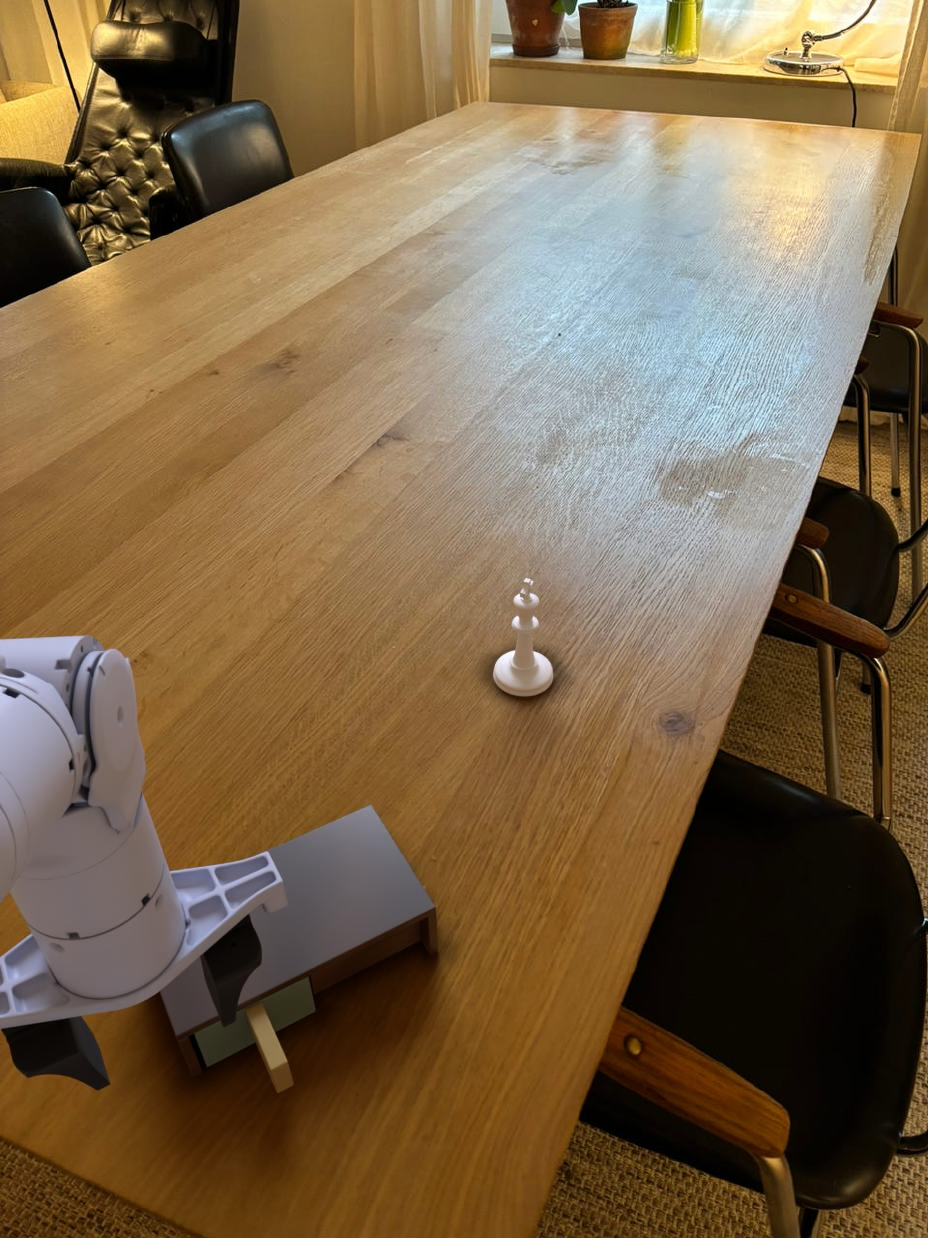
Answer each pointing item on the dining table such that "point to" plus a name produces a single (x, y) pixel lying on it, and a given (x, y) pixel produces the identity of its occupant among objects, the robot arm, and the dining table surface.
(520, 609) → the chess piece
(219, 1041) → the sliding door
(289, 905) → the cabinet
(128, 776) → the robot arm
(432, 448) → the dining table surface
